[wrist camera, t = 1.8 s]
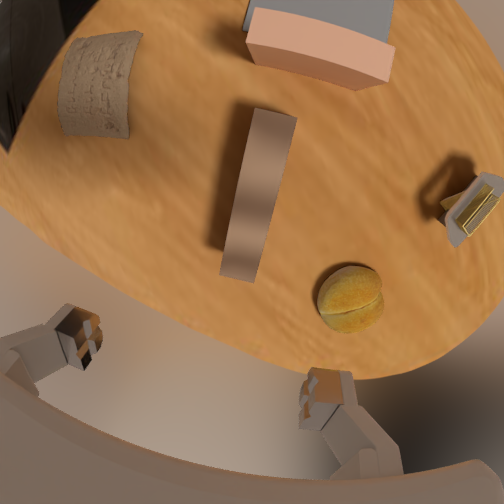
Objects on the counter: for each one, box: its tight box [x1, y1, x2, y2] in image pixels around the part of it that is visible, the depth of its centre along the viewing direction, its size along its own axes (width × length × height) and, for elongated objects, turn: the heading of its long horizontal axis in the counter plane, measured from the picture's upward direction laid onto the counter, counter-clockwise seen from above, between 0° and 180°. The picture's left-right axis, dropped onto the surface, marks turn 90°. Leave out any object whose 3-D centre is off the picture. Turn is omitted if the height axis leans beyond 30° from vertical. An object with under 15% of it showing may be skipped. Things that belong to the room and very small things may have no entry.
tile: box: [246, 7, 395, 91], centre depth 19 cm, size 3×10×9 cm, turn 78°
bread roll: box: [317, 266, 384, 334], centre depth 32 cm, size 8×9×4 cm
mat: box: [243, 0, 394, 44], centre depth 19 cm, size 10×14×1 cm
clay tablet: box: [57, 30, 143, 139], centre depth 24 cm, size 14×10×3 cm
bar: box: [219, 108, 297, 283], centre depth 27 cm, size 16×4×5 cm, turn 168°
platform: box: [438, 172, 504, 247], centre depth 24 cm, size 12×18×7 cm, turn 142°
